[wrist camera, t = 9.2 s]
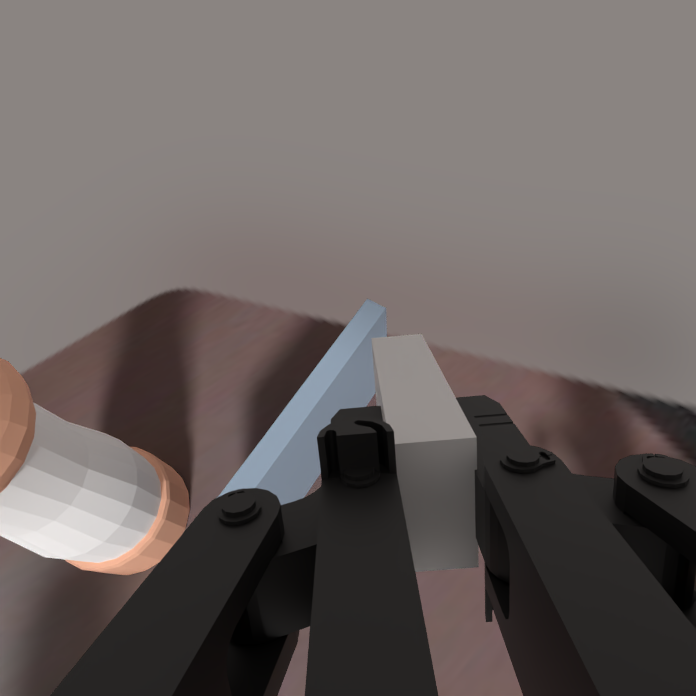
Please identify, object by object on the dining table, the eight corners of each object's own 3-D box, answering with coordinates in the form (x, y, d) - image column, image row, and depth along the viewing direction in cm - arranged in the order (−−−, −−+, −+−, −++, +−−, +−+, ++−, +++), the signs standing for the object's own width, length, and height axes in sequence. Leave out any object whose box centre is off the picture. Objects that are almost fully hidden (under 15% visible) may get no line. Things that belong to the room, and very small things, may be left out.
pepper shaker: (194, 455, 34) (3, 302, 18) (185, 570, 31) (-65, 517, 14) (91, 464, 35) (-196, 322, 18) (70, 580, 31) (-309, 539, 14)
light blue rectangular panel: (252, 574, 29) (204, 560, 22) (235, 560, 29) (182, 542, 22) (388, 375, 34) (386, 308, 27) (372, 366, 35) (366, 298, 27)
